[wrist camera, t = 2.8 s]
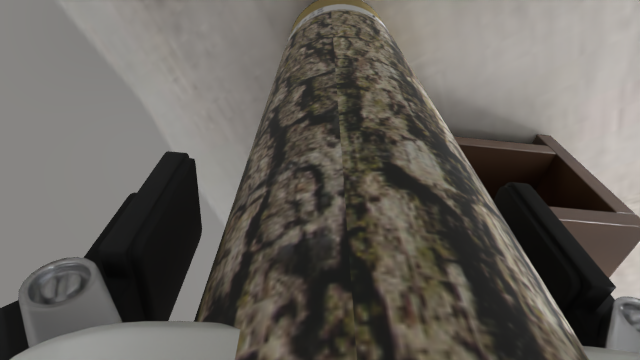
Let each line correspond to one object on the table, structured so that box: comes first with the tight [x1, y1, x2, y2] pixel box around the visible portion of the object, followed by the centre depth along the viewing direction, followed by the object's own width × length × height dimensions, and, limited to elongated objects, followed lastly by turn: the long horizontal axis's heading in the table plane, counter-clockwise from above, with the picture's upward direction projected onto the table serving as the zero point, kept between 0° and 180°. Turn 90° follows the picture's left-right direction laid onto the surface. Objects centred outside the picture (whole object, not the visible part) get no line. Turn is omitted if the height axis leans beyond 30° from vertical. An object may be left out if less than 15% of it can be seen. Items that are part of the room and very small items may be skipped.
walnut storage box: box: [453, 135, 640, 278], centre depth 29 cm, size 16×18×11 cm
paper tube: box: [194, 0, 589, 360], centre depth 15 cm, size 7×7×25 cm
